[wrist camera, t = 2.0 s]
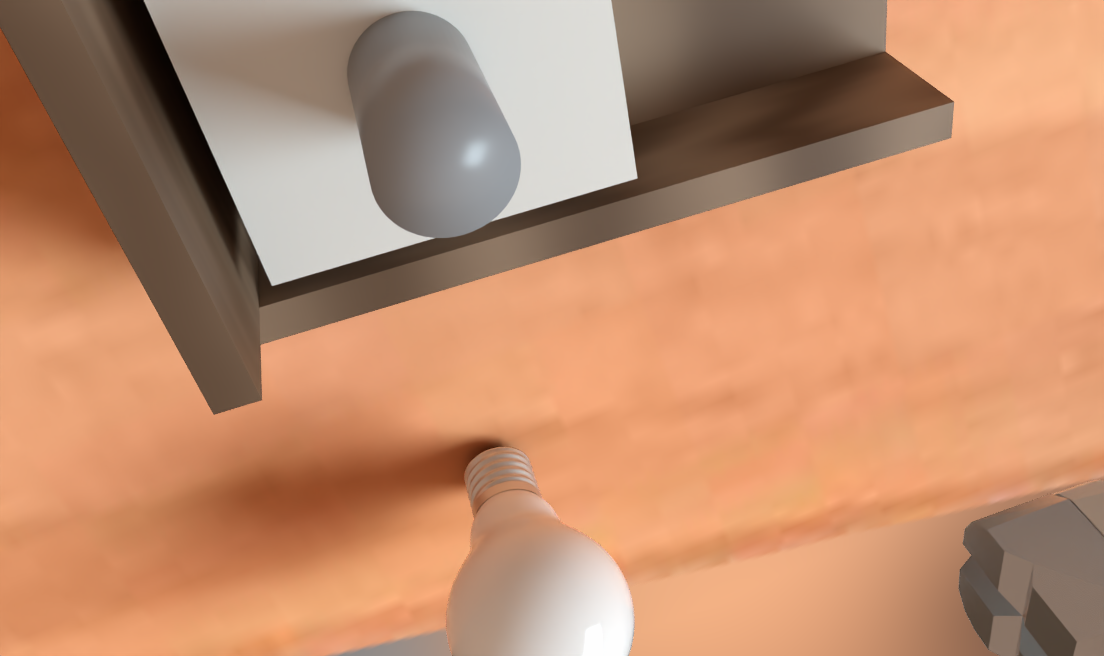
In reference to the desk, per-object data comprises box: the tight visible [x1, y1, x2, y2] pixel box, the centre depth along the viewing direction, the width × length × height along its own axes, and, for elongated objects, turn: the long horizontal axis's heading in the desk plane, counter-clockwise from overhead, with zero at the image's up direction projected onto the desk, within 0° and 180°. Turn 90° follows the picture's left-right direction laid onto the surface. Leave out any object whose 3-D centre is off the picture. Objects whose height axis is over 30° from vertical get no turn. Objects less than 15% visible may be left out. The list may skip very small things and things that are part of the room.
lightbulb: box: [446, 447, 634, 656], centre depth 36 cm, size 6×6×11 cm
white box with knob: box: [144, 0, 637, 286], centre depth 24 cm, size 10×9×10 cm
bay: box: [0, 0, 954, 414], centre depth 25 cm, size 22×14×9 cm, turn 100°
